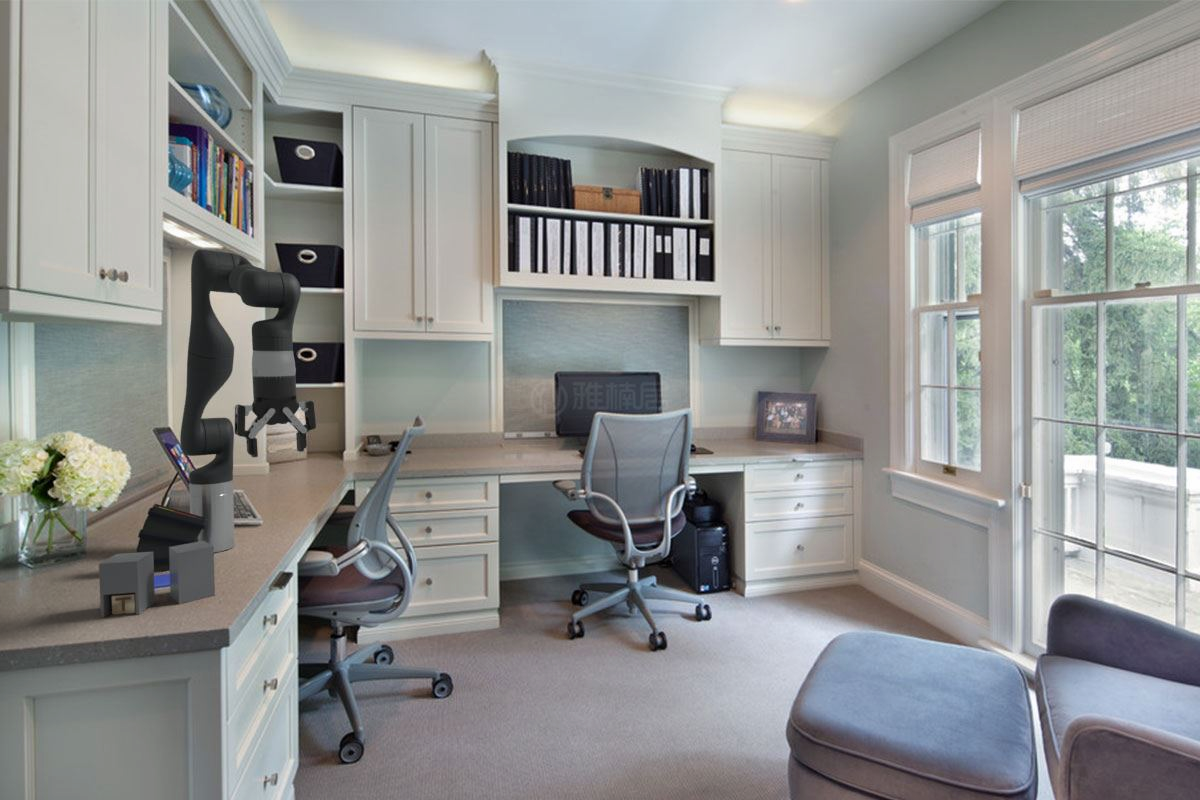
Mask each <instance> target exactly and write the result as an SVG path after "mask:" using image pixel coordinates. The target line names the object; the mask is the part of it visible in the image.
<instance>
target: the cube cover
mask: <svg viewBox="0 0 1200 800" xmlns="http://www.w3.org/2000/svg"><path fill="white" fill-rule="evenodd" d="M98 571H99V572H98V576H99V600H100V606H99V607H100V618H105V617H107V616H108V615H110V614H112V595H114V594H121V593H135V602H136V612H135V615H136V614H139V615H141V614H142V613H143V612H144V611H145V609H146V608H147V607H148V608H149V607H151V606H152V605H153V604H155V603H154V602H156V596H155V594H156V593H155V592H156V591H155V590H154V576H155V572H154V559H153V552H140V553H137V552H129V553H128V552H125V553H123V552H122V553H116V554H114V555H112V556H111V557H108V558H106V560H103V561H101V562H100V563H98ZM150 605H151V606H150ZM148 608H147V609H148ZM147 609H146V610H147ZM143 610H144V611H143ZM142 611H143V612H142ZM141 612H142V613H141Z"/></svg>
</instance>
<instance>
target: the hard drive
mask: <svg viewBox="0 0 1200 800" xmlns="http://www.w3.org/2000/svg"><path fill="white" fill-rule="evenodd" d="M169 588H170V573H165V574H158V575H155V574H154V590H155V592H156V591H163V589H165V590H170V589H169Z"/></svg>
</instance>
